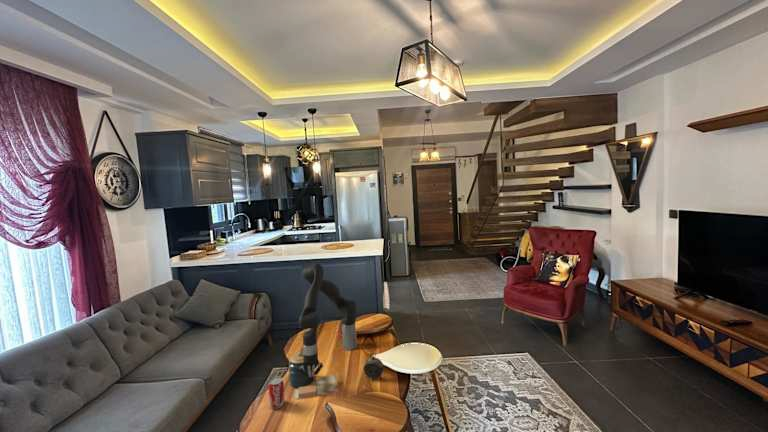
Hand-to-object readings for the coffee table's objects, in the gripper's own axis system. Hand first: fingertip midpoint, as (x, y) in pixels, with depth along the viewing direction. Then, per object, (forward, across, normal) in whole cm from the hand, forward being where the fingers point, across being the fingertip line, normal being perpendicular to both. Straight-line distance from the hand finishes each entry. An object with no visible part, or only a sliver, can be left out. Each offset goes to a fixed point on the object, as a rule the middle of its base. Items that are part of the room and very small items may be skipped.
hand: (311, 382), depth 171 cm
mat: (+5, +3, 0) cm, 6 cm away
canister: (+5, +5, -11) cm, 13 cm away
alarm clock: (+5, -34, 0) cm, 35 cm away
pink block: (+5, +2, +1) cm, 5 cm away
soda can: (+5, +18, +5) cm, 19 cm away
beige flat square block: (+5, -8, 0) cm, 9 cm away
